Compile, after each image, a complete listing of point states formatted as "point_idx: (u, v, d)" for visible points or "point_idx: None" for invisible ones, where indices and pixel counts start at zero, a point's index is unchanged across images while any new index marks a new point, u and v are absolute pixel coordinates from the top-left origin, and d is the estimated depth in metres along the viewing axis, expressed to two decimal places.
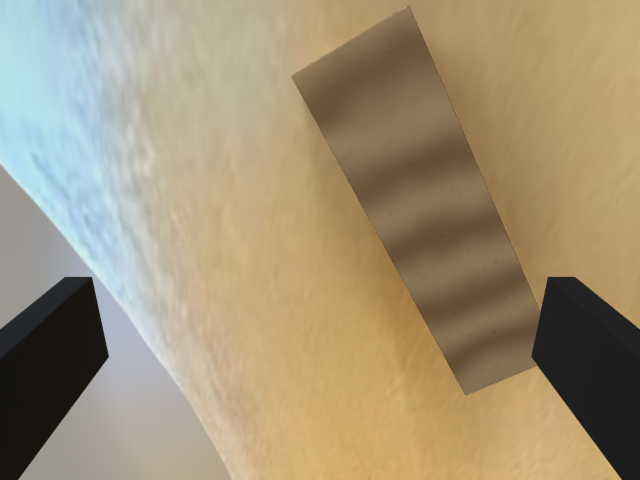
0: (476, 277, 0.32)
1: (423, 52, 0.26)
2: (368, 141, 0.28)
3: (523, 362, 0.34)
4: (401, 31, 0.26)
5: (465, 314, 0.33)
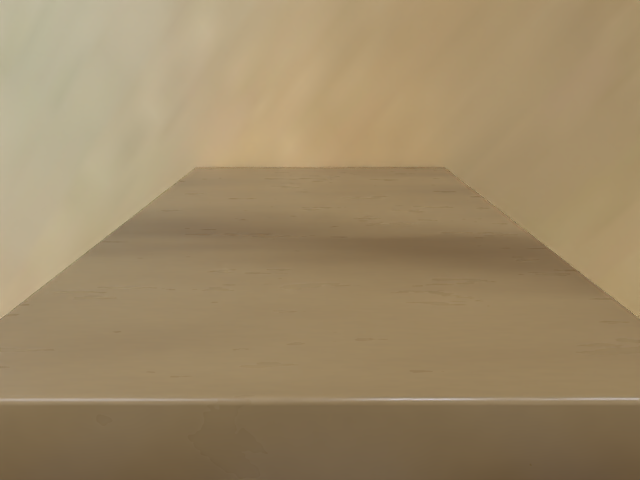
0: None
1: None
2: None
3: None
4: None
5: None
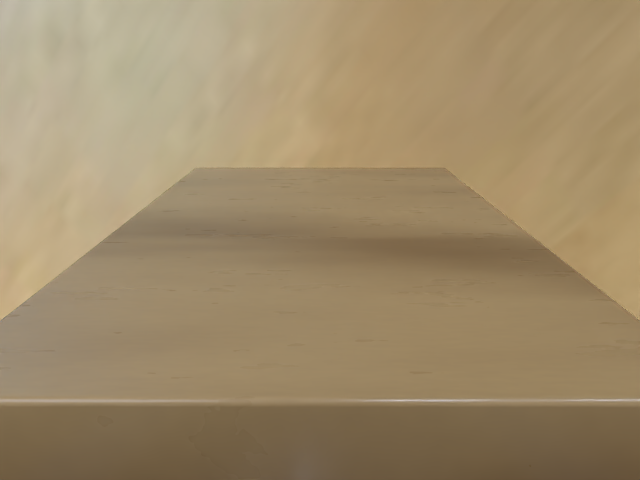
0: None
1: None
2: None
3: None
4: None
5: None
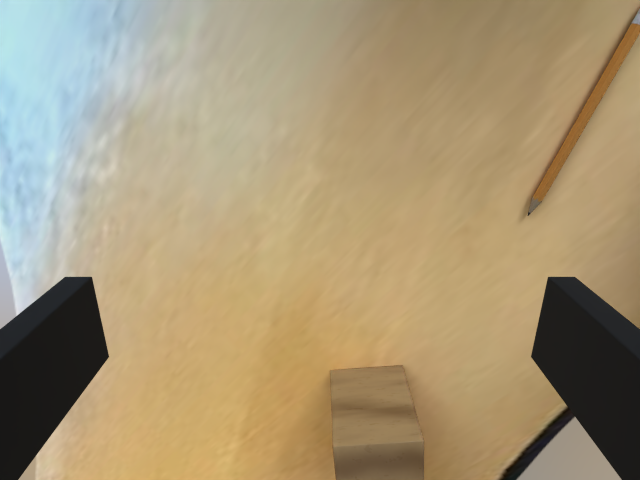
0: None
1: (420, 464, 0.39)
2: None
3: None
4: (412, 451, 0.38)
5: None
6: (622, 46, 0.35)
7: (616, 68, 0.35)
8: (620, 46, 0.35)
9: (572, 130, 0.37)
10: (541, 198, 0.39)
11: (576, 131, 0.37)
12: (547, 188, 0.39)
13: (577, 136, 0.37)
